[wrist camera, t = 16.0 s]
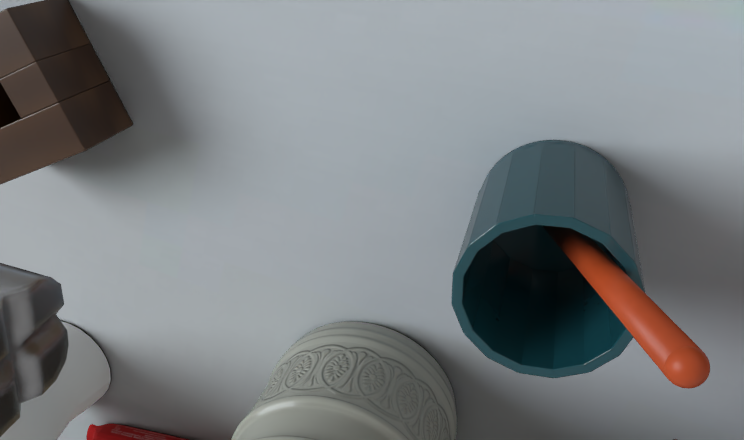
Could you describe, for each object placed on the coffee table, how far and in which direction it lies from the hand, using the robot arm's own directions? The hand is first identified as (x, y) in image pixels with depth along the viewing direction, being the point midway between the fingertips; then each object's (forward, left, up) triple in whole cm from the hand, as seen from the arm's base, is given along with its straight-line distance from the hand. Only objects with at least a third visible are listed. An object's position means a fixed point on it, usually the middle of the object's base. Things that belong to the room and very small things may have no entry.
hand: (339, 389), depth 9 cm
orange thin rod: (+11, -2, -30) cm, 32 cm away
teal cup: (+11, -2, -31) cm, 32 cm away
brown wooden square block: (-6, -29, -31) cm, 42 cm away
